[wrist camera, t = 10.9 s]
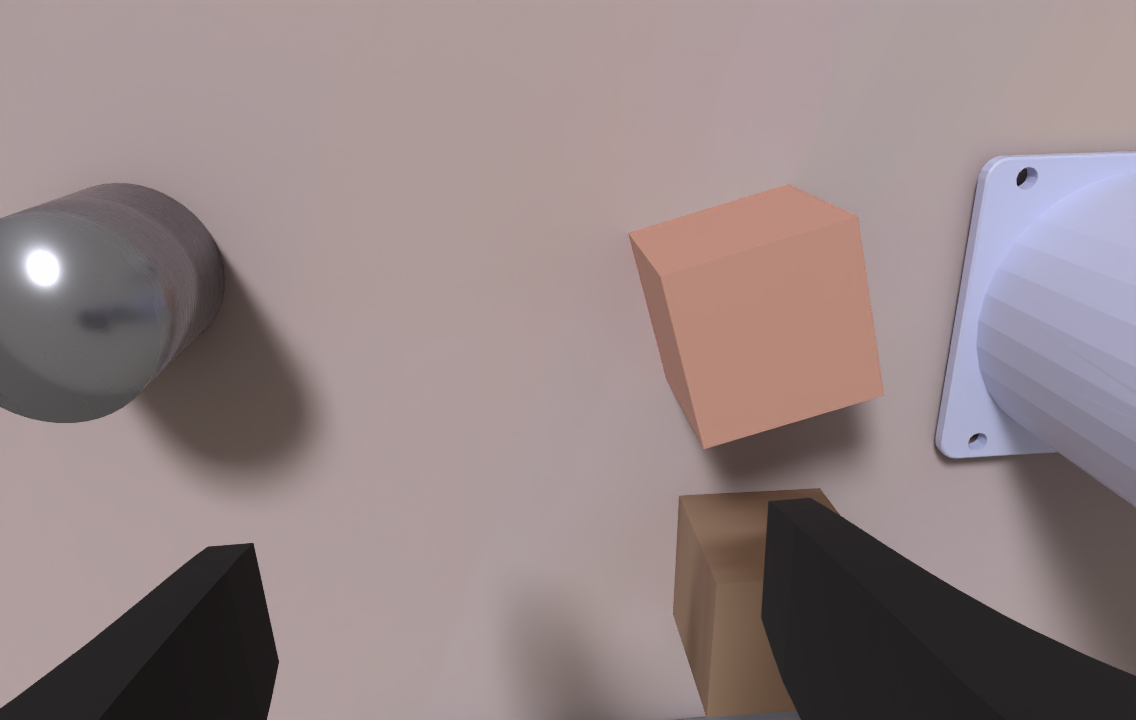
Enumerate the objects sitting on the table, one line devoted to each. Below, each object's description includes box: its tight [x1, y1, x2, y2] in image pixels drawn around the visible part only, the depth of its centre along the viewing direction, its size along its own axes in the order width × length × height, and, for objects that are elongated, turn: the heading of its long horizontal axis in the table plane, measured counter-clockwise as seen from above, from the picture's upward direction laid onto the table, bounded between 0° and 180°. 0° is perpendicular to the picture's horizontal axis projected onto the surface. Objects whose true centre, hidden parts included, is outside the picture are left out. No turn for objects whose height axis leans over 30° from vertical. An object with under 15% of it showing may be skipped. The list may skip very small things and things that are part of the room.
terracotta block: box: [628, 185, 884, 449], centre depth 18 cm, size 4×4×4 cm
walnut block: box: [673, 488, 839, 718], centre depth 21 cm, size 4×4×4 cm
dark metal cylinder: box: [0, 183, 225, 423], centre depth 17 cm, size 4×4×4 cm
